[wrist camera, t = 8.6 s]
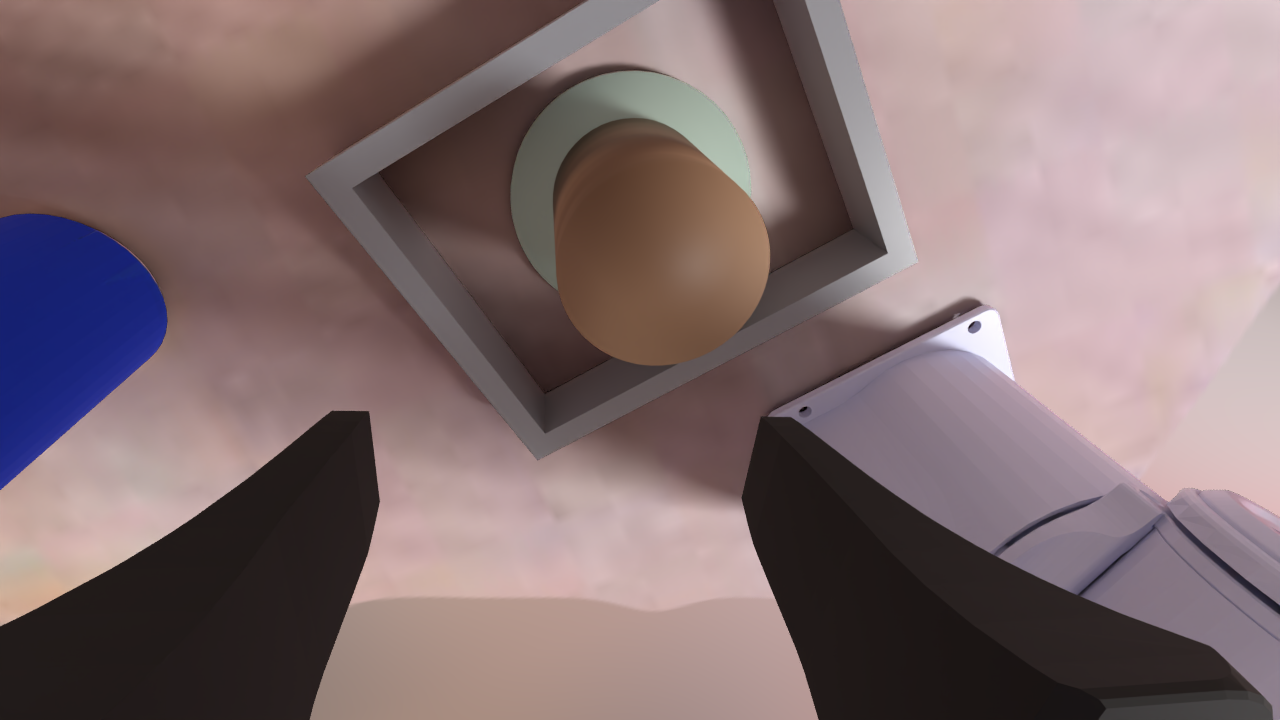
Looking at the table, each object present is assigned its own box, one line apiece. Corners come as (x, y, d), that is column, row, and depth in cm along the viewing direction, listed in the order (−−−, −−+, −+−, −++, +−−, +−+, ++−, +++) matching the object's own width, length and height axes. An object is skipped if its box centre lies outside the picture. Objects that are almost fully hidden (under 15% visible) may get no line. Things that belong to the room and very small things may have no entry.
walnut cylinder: (605, 303, 21) (625, 398, 16) (520, 174, 19) (511, 238, 14) (736, 227, 20) (801, 301, 15) (665, 84, 18) (714, 113, 13)
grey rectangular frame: (537, 419, 24) (537, 460, 21) (333, 156, 18) (304, 176, 16) (881, 236, 22) (918, 262, 20) (766, -113, 16) (799, -132, 14)
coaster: (588, 345, 22) (589, 350, 22) (460, 153, 19) (459, 156, 18) (781, 241, 21) (785, 245, 21) (686, 17, 18) (689, 17, 17)
